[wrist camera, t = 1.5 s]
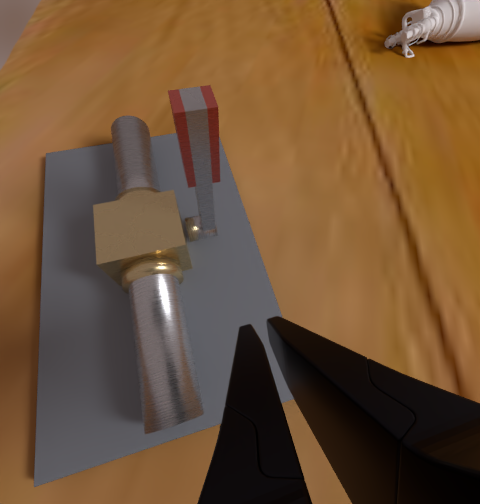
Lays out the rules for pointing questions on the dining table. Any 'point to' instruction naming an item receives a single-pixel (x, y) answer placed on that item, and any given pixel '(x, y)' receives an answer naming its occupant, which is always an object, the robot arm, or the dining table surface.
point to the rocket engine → (439, 24)
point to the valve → (150, 277)
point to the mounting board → (119, 313)
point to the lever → (198, 152)
